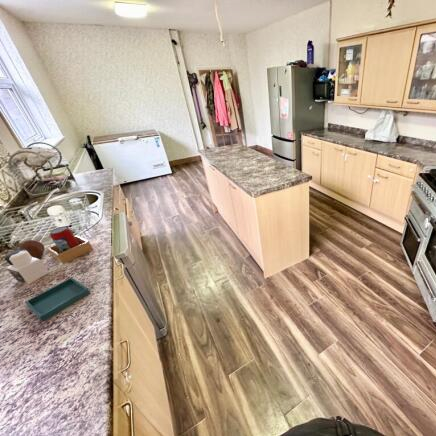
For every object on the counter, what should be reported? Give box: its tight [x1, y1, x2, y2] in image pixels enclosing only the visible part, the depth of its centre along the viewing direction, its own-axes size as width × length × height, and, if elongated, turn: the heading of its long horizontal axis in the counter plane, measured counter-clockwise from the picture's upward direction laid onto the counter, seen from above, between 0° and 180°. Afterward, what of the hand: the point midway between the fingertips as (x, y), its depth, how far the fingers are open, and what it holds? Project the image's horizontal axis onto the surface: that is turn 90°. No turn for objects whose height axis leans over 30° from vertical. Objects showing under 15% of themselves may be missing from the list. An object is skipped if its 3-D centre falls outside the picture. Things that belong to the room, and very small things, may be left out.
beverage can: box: [49, 226, 79, 253], centre depth 104 cm, size 7×7×12 cm
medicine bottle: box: [4, 249, 50, 285], centre depth 90 cm, size 7×7×12 cm
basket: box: [46, 235, 94, 265], centre depth 106 cm, size 12×12×4 cm
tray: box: [24, 276, 91, 323], centre depth 82 cm, size 13×13×2 cm
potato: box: [18, 239, 45, 259], centre depth 104 cm, size 8×12×8 cm, turn 47°
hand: (1, 211), depth 89 cm, fingers open, 8 cm apart
